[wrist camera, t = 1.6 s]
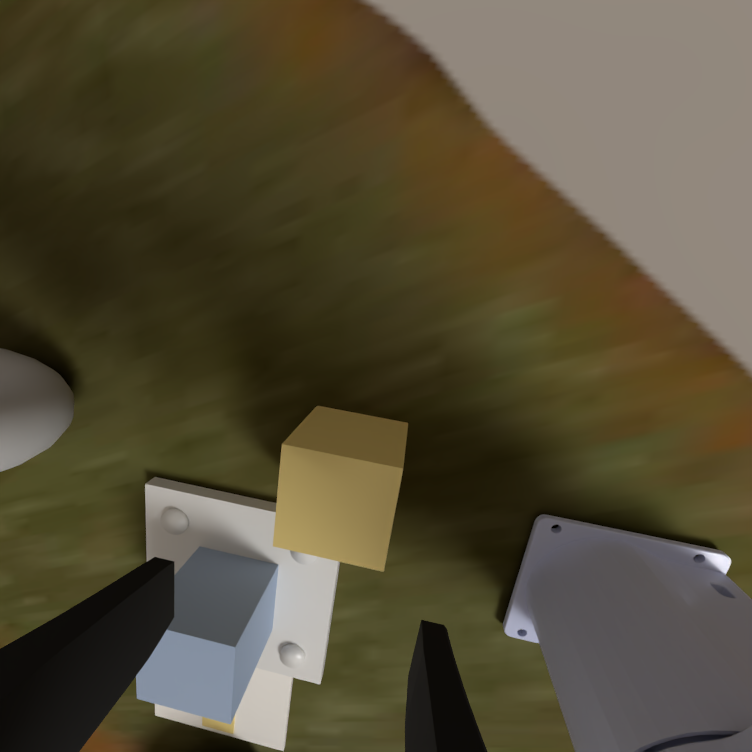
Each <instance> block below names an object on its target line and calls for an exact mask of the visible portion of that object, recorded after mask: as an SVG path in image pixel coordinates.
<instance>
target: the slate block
mask: <svg viewBox="0 0 752 752" xmlns="http://www.w3.org/2000/svg"><path fill="white" fill-rule="evenodd" d="M278 566H279V565H278V564H274V563H269V562H265V561H261V560H256V559H252V558H248V557H244V556H239V555H235V554H231V553H226V552H222V551H218V550H213V549H209V548H205V547H200V546H199V548H198V549H197V550H196V551H195V552H194V553H193V554H192V556H191V557H190V558H189V559H188V560H187V561H186V563H185V564H184V565H183V566H182V567H181V568H180V569H179V571H178V572H177V573H176V574H175V575H174V618H173V620H172V622H171V623H170V625H169V627H168V628H167V630H166V632H165V633H164V635H163V637H162V638H161V640H160V642H159V643H158V645H157V646H156V648H155V650H154V651H153V653H152V654H151V656H150V658H149V659H148V660H147V662H146V663H145V664H144V666H143V667H142V669H141V670H140V671H139V673H138V674H137V675H136V686H137V699H140V700H144V701H147V702H151V703H155V704H158V705H162V706H165V707H169V708H173V709H176V710H180V711H184V712H187V713H191V714H194V715H198V716H202V717H205V718H209V719H213V720H216V721H220V722H223V723H227V724H231V723H232V720H233V718H234V716H235V714H236V711H237V709H238V707H239V704H240V702H241V700H242V698H243V695H244V693H245V691H246V689H247V686H248V684H249V682H250V680H251V677H252V675H253V673H254V670H255V668H256V666H257V664H258V661H259V659H260V657H261V655H262V652H263V650H264V648H265V645H266V643H267V641H268V639H269V636H270V634H271V632H272V629H273V619H274V608H275V598H276V587H277V577H278Z"/></svg>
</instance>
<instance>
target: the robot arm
mask: <svg viewBox="0 0 752 752" xmlns="http://www.w3.org/2000/svg"><path fill="white" fill-rule="evenodd" d="M553 525H559V526H558V527H557V528H551V527H552V526H553ZM698 554H699V555H698ZM696 555H698V556H697V557H695V556H696ZM730 564H731V559H730V557H728V556H727V555H726V554H725V553H724V552H723V551H721V550H717V549H712V548H707V547H702V546H698V545H693V544H688V543H683V542H678V541H673V540H668V539H663V538H659V537H654V536H649V535H644V534H639V533H634V532H629V531H624V530H620V529H615V528H610V527H605V526H600V525H595V524H590V523H585V522H580V521H576V520H571V519H566V518H561V517H556V516H551V515H544V514H543V515H540V516H538V517H537V518H536V519H535V521H534V525H533V528H532V531H531V534H530V538H529V541H528V544H527V547H526V551H525V554H524V557H523V560H522V563H521V567H520V570H519V573H518V576H517V580H516V583H515V586H514V589H513V593H512V596H511V599H510V602H509V605H508V609H507V612H506V615H505V618H504V622H503V628H504V632H505V633H506V634H507V635H508V636H511V637H514V638H519V639H523V640H527V641H531V642H535V643H539V644H540V647H541V650H542V653H543V656H544V659H545V662H546V665H547V668H548V671H549V674H550V677H551V680H552V683H553V686H554V689H555V692H556V695H557V698H558V701H559V704H560V707H561V710H562V713H563V716H564V719H565V722H566V725H567V728H568V732H569V735H570V738H571V741H572V744H573V747H574V750H575V752H752V599H751V598H750V597H749V596H748V595H747V594H746V593H745V592H744V591H742V590H741V589H740V588H739V587H738V586H737V585H736V584H735V583H734V582H733V581H732V580H731V579H730V578H729V577H728V576H726V573H727V571H728V569H729V567H730ZM173 618H174V561H170V560H166V559H162V558H158V557H154V558H152V559H151V560H149V561H147V562H146V563H144V564H142V565H141V566H139V567H137V568H136V569H134V570H133V571H131V572H129V573H128V574H126V575H125V576H123V577H121V578H120V579H118V580H117V581H115V582H113V583H112V584H110V585H109V586H107V587H105V588H104V589H102V590H100V591H99V592H97V593H96V594H94V595H92V596H91V597H89V598H87V599H86V600H84V601H82V602H81V603H79V604H77V605H76V606H74V607H72V608H71V609H69V610H67V611H66V612H64V613H62V614H61V615H59V616H57V617H56V618H54V619H52V620H50V621H49V622H47V623H45V624H43V625H42V626H40V627H38V628H36V629H34V630H33V631H31V632H29V633H27V634H26V635H24V636H22V637H20V638H19V639H17V640H15V641H13V642H12V643H10V644H8V645H6V646H5V647H3V648H1V649H0V752H79V751H80V750H81V748H82V747H83V746H84V744H85V743H86V742H87V740H88V739H89V738H90V736H91V735H92V734H93V732H94V731H95V730H96V728H97V727H98V726H99V724H100V723H101V722H102V720H103V719H104V718H105V717H106V715H107V714H108V713H109V711H110V710H111V709H112V707H113V706H114V705H115V703H116V702H117V701H118V699H119V698H120V697H121V695H122V694H123V693H124V691H125V690H126V689H127V687H128V686H129V685H130V683H131V682H132V681H133V679H134V678H135V677H136V675H137V674H138V673H139V671H140V670H141V669H142V667H143V666H144V664H145V663H146V662H147V660H148V659H149V658H150V656H151V654H152V653H153V651H154V650H155V648H156V646H157V645H158V643H159V642H160V640H161V638H162V637H163V635H164V633H165V632H166V630H167V628H168V627H169V625H170V623H171V622H172V620H173ZM520 629H523V630H520ZM405 752H487V750H486V747H485V744H484V742H483V739H482V737H481V734H480V731H479V729H478V726H477V723H476V720H475V718H474V715H473V712H472V709H471V707H470V704H469V701H468V698H467V695H466V692H465V690H464V687H463V683H462V680H461V677H460V674H459V671H458V668H457V665H456V661H455V658H454V655H453V651H452V647H451V644H450V640H449V636H448V632H447V629H446V628H445V626H444V625H441V624H437V623H433V622H428V621H424V620H421V624H420V628H419V632H418V637H417V641H416V645H415V650H414V654H413V658H412V662H411V667H410V671H409V675H408V688H407V703H406V719H405Z"/></svg>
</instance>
